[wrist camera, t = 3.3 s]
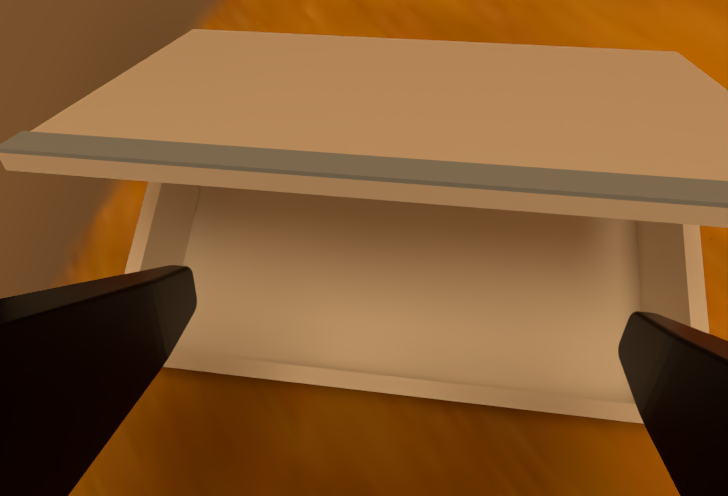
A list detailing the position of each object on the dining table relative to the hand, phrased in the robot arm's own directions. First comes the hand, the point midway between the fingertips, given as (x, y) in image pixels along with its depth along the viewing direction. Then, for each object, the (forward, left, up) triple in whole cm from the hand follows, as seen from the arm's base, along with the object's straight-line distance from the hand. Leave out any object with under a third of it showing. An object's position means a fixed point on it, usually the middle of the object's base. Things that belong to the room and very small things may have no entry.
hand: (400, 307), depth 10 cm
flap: (+8, 0, -4) cm, 9 cm away
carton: (+5, 0, -12) cm, 13 cm away
